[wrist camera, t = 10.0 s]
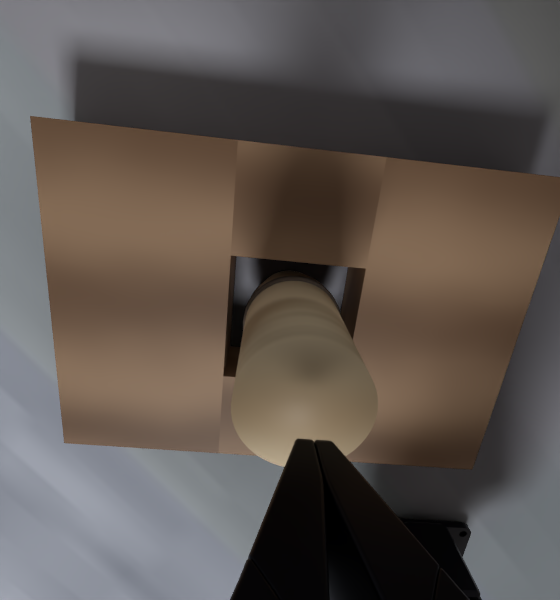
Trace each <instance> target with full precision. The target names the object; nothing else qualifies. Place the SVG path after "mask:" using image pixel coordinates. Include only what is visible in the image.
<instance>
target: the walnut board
mask: <svg viewBox="0 0 560 600" xmlns="http://www.w3.org/2000/svg"><path fill="white" fill-rule="evenodd" d="M30 119H31V129H32V138H33V148H34V157H35V167H36V176H37V186H38V196H39V205H40V215H41V224H42V234H43V243H44V253H45V262H46V272H47V282H48V291H49V301H50V310H51V320H52V329H53V339H54V349H55V358H56V368H57V377H58V387H59V396H60V406H61V416H62V425H63V435H64V443H71V444H87V445H102V446H117V447H133V448H148V449H163V450H179V451H194V452H209V453H225V454H240V455H255V456H257V455H256V454H255V453H253V452H252V451H251V450H250V449H249V448H248V447H247V446H246V445H245V444H244V443H243V442H242V440H241V439H240V437H239V436H238V434H237V432H236V430H235V428H234V425H233V422H232V416H231V401H232V394H233V388H234V382H235V377H236V371H237V365H238V359H239V353H240V347H231V346H230V341H231V326H232V311H233V297H234V282H235V267H236V256H241V257H251V258H262V259H272V260H282V261H293V262H303V263H313V264H324V265H334V266H344V267H348V272H347V278H346V284H345V290H344V296H343V302H342V308H341V318H342V320H343V322H344V324H345V326H346V328H347V330H348V332H349V334H350V336H351V338H352V340H353V342H354V344H355V346H356V348H357V350H358V352H359V354H360V356H361V358H362V360H363V362H364V364H365V366H366V368H367V370H368V372H369V374H370V376H371V378H372V380H373V382H374V384H375V387H376V390H377V396H378V410H377V416H376V419H375V423H374V425H373V427H372V429H371V431H370V433H369V434H368V436H367V437H366V439H365V440H364V441H363V442H362V443H361V445H359V446H358V447H357V448H356V449H355V450H354V451H353V452H351V453H350V454H348V455H347V456H346V458H347V459H348V460H349V461H350V462H363V463H378V464H393V465H408V466H424V467H439V468H454V469H470V470H472V469H473V466H474V463H475V460H476V458H477V455H478V452H479V449H480V446H481V443H482V440H483V437H484V434H485V431H486V428H487V426H488V423H489V420H490V417H491V414H492V411H493V408H494V405H495V402H496V399H497V396H498V394H499V391H500V388H501V385H502V382H503V379H504V376H505V373H506V370H507V367H508V365H509V362H510V359H511V356H512V353H513V350H514V347H515V344H516V341H517V338H518V335H519V333H520V330H521V327H522V324H523V321H524V318H525V315H526V312H527V309H528V306H529V304H530V301H531V298H532V295H533V292H534V289H535V286H536V283H537V280H538V277H539V274H540V272H541V269H542V266H543V263H544V260H545V257H546V254H547V251H548V248H549V245H550V242H551V240H552V237H553V234H554V231H555V228H556V225H557V222H558V219H559V216H560V177H553V176H545V175H536V174H528V173H519V172H510V171H502V170H493V169H484V168H476V167H467V166H458V165H450V164H441V163H432V162H424V161H415V160H406V159H398V158H389V157H380V156H372V155H363V154H354V153H346V152H337V151H328V150H320V149H311V148H302V147H294V146H285V145H276V144H268V143H259V142H250V141H242V140H233V139H224V138H216V137H207V136H198V135H190V134H181V133H172V132H164V131H155V130H146V129H138V128H129V127H120V126H112V125H103V124H94V123H86V122H77V121H68V120H60V119H51V118H42V117H34V116H30Z"/></svg>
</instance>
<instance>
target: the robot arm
mask: <svg viewBox="0 0 560 600" xmlns="http://www.w3.org/2000/svg"><path fill="white" fill-rule="evenodd" d="M470 535H471V531H470V529H469V528H468V526H467V524H465V523H462V522H444V521H427V520H409V519H399V518H398V517H397V516H396V514H395V513H394V512H393V511H392V510H391V509H390V507H389V506H388V505H387V504H386V503H385V502H384V500H383V499H382V498H381V497H380V496H379V495H378V494H377V492H376V491H375V490H374V489H373V488H372V487H371V485H370V484H369V483H368V482H367V481H366V480H365V478H364V477H363V476H362V475H361V474H360V473H359V472H358V470H357V469H356V468H355V467H354V466H353V465H352V463H351V462H350V461H349V460H348V459H347V458H346V456H345V455H344V454H343V453H342V452H341V451H340V449H339V448H338V447H337V446H336V445H335V444H334V443H333V442H332V441H329V440H315V441H313V440H312V439H300V438H298V439H296V440H295V442H294V445H293V447H292V450H291V452H290V455H289V457H288V460H287V462H286V465H285V467H284V470H283V472H282V475H281V477H280V480H279V482H278V485H277V487H276V489H275V492H274V494H273V497H272V499H271V502H270V504H269V507H268V509H267V512H266V514H265V517H264V519H263V522H262V524H261V527H260V529H259V532H258V534H257V537H256V539H255V542H254V544H253V547H252V549H251V552H250V554H249V557H248V560H247V561H246V563H245V566H244V568H243V571H242V573H241V576H240V578H239V581H238V583H237V585H236V587H235V590H234V592H233V594H232V596H231V599H230V600H482V599H481V597H480V591H479V589H478V587H477V585H476V583H475V581H474V579H473V577H472V576H471V574H470V572H469V570H468V568H467V566H466V564H465V562H464V560H463V558H462V557H463V554H464V551H465V548H466V546H467V543H468V540H469V538H470Z"/></svg>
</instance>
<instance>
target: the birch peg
mask: <svg viewBox="0 0 560 600" xmlns="http://www.w3.org/2000/svg"><path fill="white" fill-rule="evenodd" d="M377 410H378V396H377V390H376V387H375V384H374V382H373V380H372V378H371V376H370V374H369V372H368V370H367V368H366V366H365V364H364V362H363V360H362V358H361V356H360V354H359V352H358V350H357V348H356V346H355V344H354V342H353V340H352V338H351V336H350V334H349V332H348V330H347V328H346V326H345V324H344V322H343V320H342V318H341V313H340V310H339V307H338V305H337V303H336V301H335V299H334V298H333V296H332V295H331V293H330V292H329V291H328V290H327V289H326V288H325V287H324V286H323V285H322V284H321V283H320V282H319V281H317V280H315V279H314V278H312V277H310V276H307V275H305V274H303V273H301V272H298V271H293V270H286V271H280V272H277V273H275V274H273V275H271V276H270V277H268V278H267V279H266V280H265V281H264V282H263V283H262V284H261V285H260V286H258V288H257V289H256V290H255V291H254V293H253V294H252V296H251V298H250V300H249V302H248V304H247V306H246V309H245V313H244V319H243V336H242V342H241V347H240V353H239V359H238V365H237V371H236V377H235V382H234V388H233V394H232V401H231V416H232V422H233V425H234V428H235V430H236V432H237V434H238V436H239V437H240V439H241V440H242V442H243V443H244V444H245V445H246V446H247V447H248V448H249V449H250V450H251V451H252V452H253V453H255V454H256V455H257V456H259V457H261V458H262V459H264V460H266V461H268V462H270V463H273V464H276V465H279V466H284V467H285V465H286V462H287V460H288V457H289V455H290V452H291V450H292V447H293V445H294V442H295V440H296V439H298V438H300V439H312V440H313V441H315V440H329V441H332V442H333V443H334V444H335V445H336V446H337V447H338V448H339V449H340V451H341V452H342V453H343V454H344V455H345V456H347V455H348V454H350V453H351V452H353V451H354V450H355V449H356V448H357V447H358V446H359V445H361V443H362V442H363V441H364V440H365V439H366V437H367V436H368V434H369V433H370V431H371V429H372V427H373V425H374V423H375V419H376V416H377Z"/></svg>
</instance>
